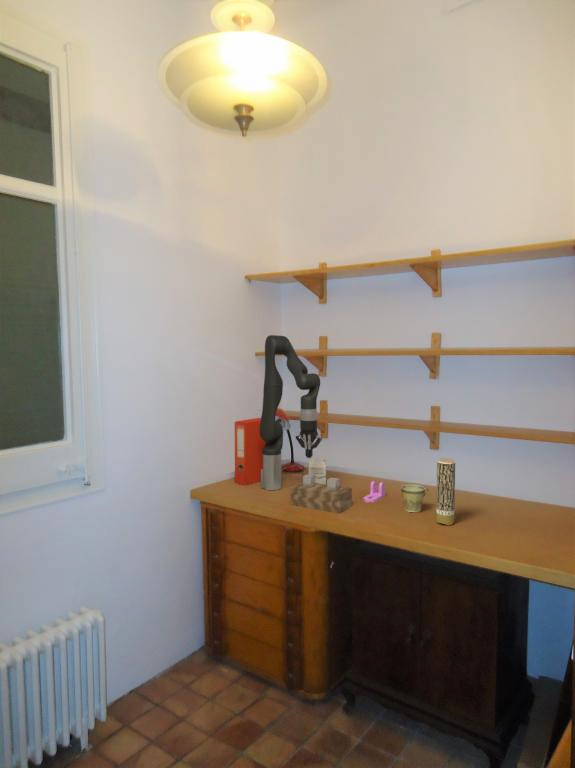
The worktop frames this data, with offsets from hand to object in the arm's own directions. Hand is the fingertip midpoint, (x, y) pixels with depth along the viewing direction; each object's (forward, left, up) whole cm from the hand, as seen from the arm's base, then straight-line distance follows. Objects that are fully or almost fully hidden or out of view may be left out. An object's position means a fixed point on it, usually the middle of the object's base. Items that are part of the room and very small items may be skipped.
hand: (309, 457), depth 232 cm
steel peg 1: (0, 0, -16) cm, 16 cm away
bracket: (+22, +21, -21) cm, 37 cm away
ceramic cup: (+44, +14, -21) cm, 51 cm away
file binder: (-44, +19, -21) cm, 52 cm away
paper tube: (+59, +4, -21) cm, 63 cm away
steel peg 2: (+12, 0, -16) cm, 20 cm away
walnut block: (+6, 0, -21) cm, 22 cm away
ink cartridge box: (-8, +23, -21) cm, 32 cm away
